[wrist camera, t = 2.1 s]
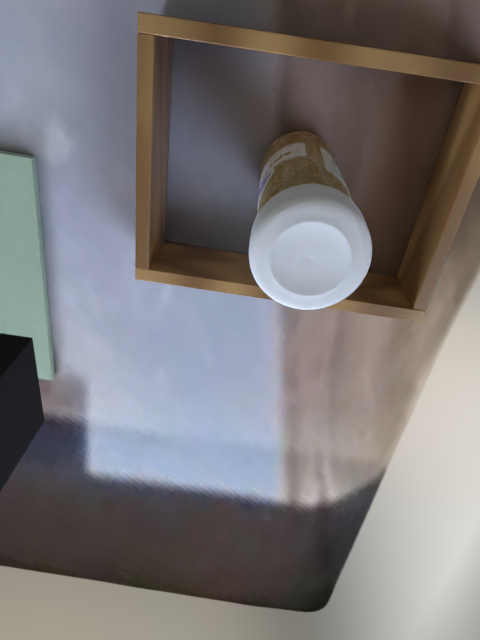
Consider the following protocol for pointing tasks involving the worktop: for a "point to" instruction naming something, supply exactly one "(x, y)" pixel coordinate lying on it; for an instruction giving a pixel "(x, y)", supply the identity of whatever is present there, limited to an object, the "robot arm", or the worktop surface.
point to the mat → (23, 259)
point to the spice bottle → (306, 227)
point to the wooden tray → (234, 268)
